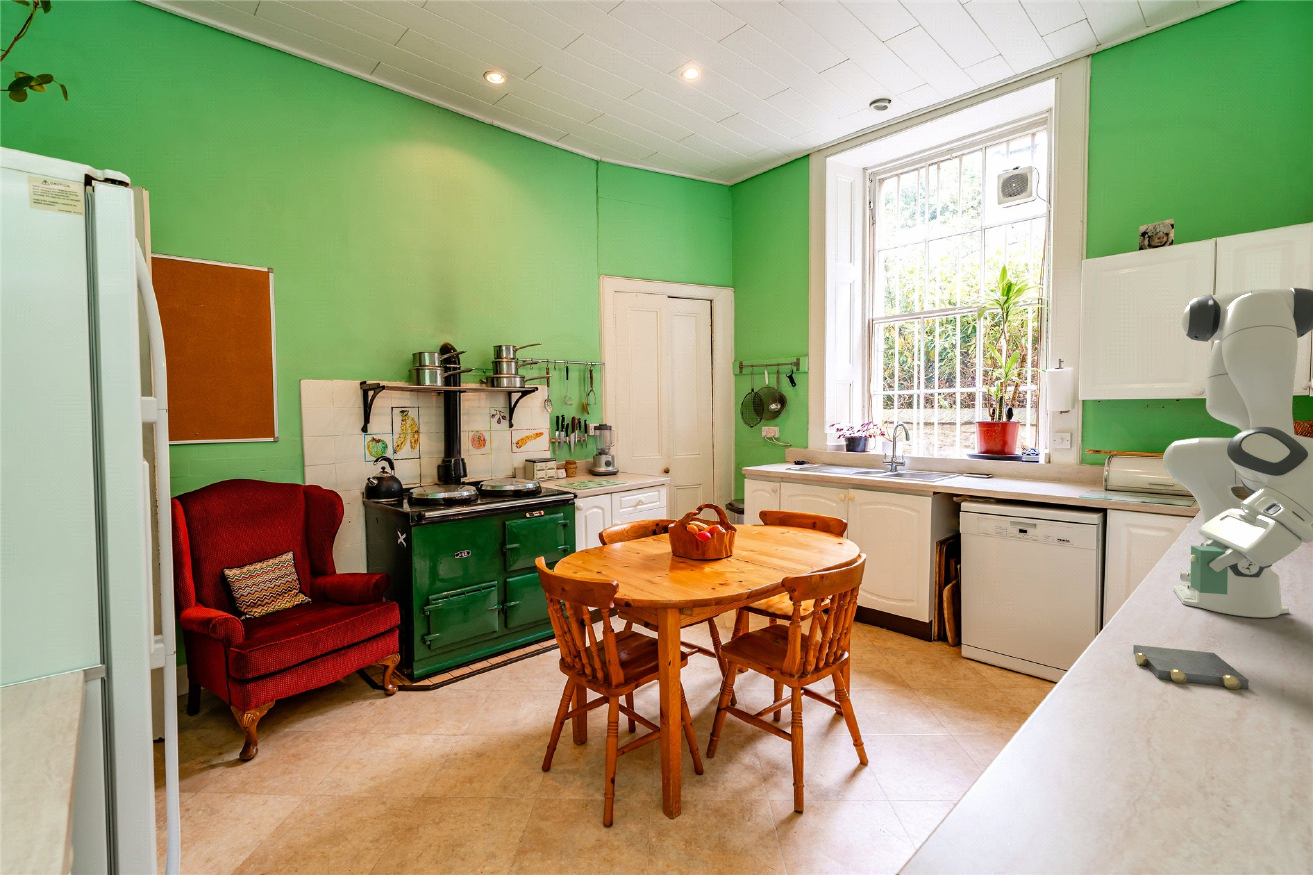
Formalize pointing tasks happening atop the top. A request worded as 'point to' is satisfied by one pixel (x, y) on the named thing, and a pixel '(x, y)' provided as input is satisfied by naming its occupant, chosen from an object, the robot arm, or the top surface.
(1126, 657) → the top surface
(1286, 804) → the top surface
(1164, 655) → the level base plate
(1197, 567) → the block
